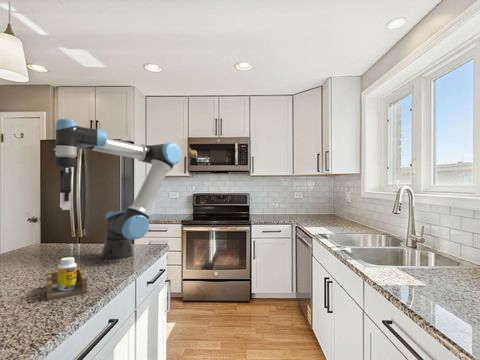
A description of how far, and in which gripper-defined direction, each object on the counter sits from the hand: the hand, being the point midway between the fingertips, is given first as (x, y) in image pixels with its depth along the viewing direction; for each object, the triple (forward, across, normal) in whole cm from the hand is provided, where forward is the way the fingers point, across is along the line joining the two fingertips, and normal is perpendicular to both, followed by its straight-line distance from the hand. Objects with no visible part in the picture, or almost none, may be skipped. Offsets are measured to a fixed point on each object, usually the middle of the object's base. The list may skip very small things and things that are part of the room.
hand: (64, 208), depth 115 cm
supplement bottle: (+26, +24, 0) cm, 35 cm away
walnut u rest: (+27, +22, 0) cm, 34 cm away
